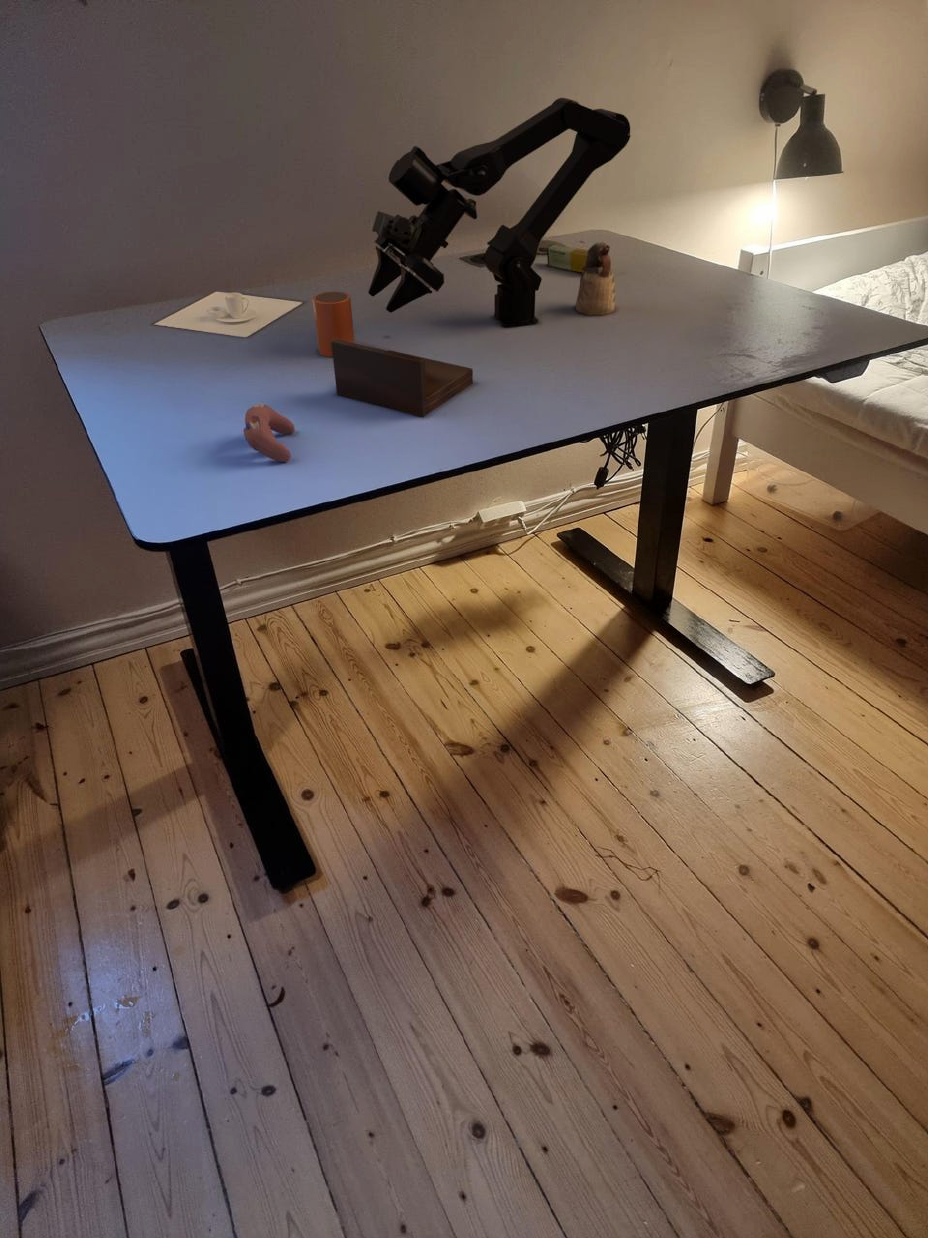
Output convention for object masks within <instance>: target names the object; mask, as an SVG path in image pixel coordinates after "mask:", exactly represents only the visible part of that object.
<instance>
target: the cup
mask: <svg viewBox="0 0 928 1238" xmlns="http://www.w3.org/2000/svg"><path fill="white" fill-rule="evenodd" d="M312 305H313V315H314V323H315V330H316V331H315V332H316V338H317V339H316V340H317V347H318V353H319V354H320V355H321V356H323V357H327V358H333V354H332V344H331V341H333V340H335V339H338V340H342V341H347V342H351V343H356V341H355V333H354V331H355V330H354V321H353V312H352V311H353V310H352V301H351V295H350V293H347V292H344V291H325V292H320V293H316V294H315V295H314V296H313V297H312Z"/></svg>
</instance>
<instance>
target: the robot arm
mask: <svg viewBox="0 0 928 1238" xmlns="http://www.w3.org/2000/svg"><path fill="white" fill-rule="evenodd" d="M568 130H571V131H574V132H576V134H575V138H574V142H573V146H572V149H571V152H570V154H569V156H568V157H567V158H566V159H565V161H564V162H563V163H562V165H561V166H560V167H559V168H558V170H557V171H556V173H555V174H554V175H553V176H552V178H551V179H550V181H549V182H548V183H547V184H546V186H545V187H544V188H543V190H542V191H541V192H540V194H539V195H538V196H537V198H536V199H535V201H534V202H533V203H532V205H530V207H529V208H528V210H527V211H526V212H525V214H524V215H523V216H522V218H521V219H520V221H519V222H518V223H516V224H515V225H513V226H511V227H508V226H506V225H504V224H502V225H500V226H499V228H498V229H497V231H496V232H495V235H494V236H493V237H492V238H491V239H490V240H489V241H487V242H486V245H488V247H487V248H486V250H485V252H484V263H485V267H486V268H487V270H488V271H489V272H490V273H491V274H492V275H493V278H494V281H495V282H498V284H497V285H496V293H495V294H494V301H493V302H494V305H493V306H494V311H493V317H494V318H495V319H496V320H497V321H498V322H499V323H500V324H501V325H502V326H503V327H505V328H509V327H518V326H524V325H525V326H526V325H531V324H537V323H539V318H537V317H536V292H537V291H539V289H540V288H541V287H540V286H541V283H542V282H543V281H542V280H543V279H542V276H540V275H539V274H538V273H537V272H536V270H534V269H533V268H532V266H533V265H534V262H535V260H536V258H537V255H538V250H539V246H540V244H541V241H542V239H543V238H544V237H545V235H546V234H547V233H548V231H549V230H550V229H551V227H552V226H553V225H554V223H555V222H556V221H557V220H558V218H559V217H560V215H562V213H563V212H564V210H565V209H566V208H567V206H568V205H569V204H570V203H571V201H572V200H573V198H574V197H575V196H576V195H577V193H579V191H580V190H581V188H582V187H583V185H585V183H586V182H587V180H588V179H589V177H590V176H591V175H592V174H593V173H594V172H595V171H596V170H598V169H599V168H601V167H602V166H604V165H606V164H608V163H609V162H611V161H612V160H613V159H614V158H615V157H616V156H617V155H618V154H619V153H621V152H622V150H623V149H625V147H627V145H628V143H629V141H630V139H631V136H632V135H631V124H630V121H629V118H627V116H625V115H624V114H622V113H619V112H615V111H612V110H607V109H605V108H595V109H594V108H593V109H592V108H590V107H587V106H585V105H582V104H580V103H579V102H578V101H576V100H574V99H570V98H567V97H566V98H565V97H559V98H556V99H555V100H554V101H553V102H552V103H551V104H550V105H548V106H547V107H545V108H544V109H542V110H540V111H539V112H537V113H536V114H534V115H533V116H531V117H530V118H528V119H526V120H525V121H523V122H521V123H520V124H519V125H517V126H515V127H513V128H512V129H510V130H509V131H508V132H507V131H506V133H504V134H503V135H501V136H500V137H498V138H496V139H494V140H491V141H489V142H484V143H479V144H475V145H473V146H470V147H468V148H466V149H463V150H460V151H458V152H457V153H455V154H454V155H453V157H452V158H451V160H448V161H444V162H441V163H438V164H435V163H434V162H433V161H432V160H431V159H430V158H429V157H428V155H427V153H425V151H423V149H422V148H420V147H419V146H417V145H414V146H413V147H412V148H411V149H410V151H408V152H406V153H405V154H404V155H402V156H401V157H400V158H399V159H397V160H396V161H395V163H394V164H393V166H391V169H390V171H389V174H388V183H390V184H391V185H392V186H393V187H394V188H396V189H397V191H398V192H400V194H402V196H404V197H405V198H406V199H407V200H408V201H410V203H412V204H413V205H414V206H415V207H419V206H421V205H425V206H424V208H423V209H422V211H421V212H420V213H419V215H418V216H416V215H415V214H413V215H411V216H409V218H407V217H406V216H401V215H400V214H396V215H395V216H393V215H391V214H388V213H385V212H382V211H379V210H377V212H376V216H375V219H374V222H373V223H374V224H373V227H372V229H371V231H372V232H373V233H376V235H377V237H376V239H375V241H374V243H375V244H377V245H375V251H376V254H377V264H376V268H375V271H374V274H373V277H372V280H371V283H370V285H369V289H368V291H367V293H368V294H369V296H371V297H375V296H377V295H378V294H380V293H381V292H382V291H383V290H384V289H386V288H387V287H388V286H389V285H391V284H392V283H393V282H394V281H396V279H398V278H399V277H400V281H399V282H398V284H397V287H396V288H395V290H394V291H393V293H392V295H391V297H390V299H389V300H388V302H387V305H386V307H385V310H386V311H387V312H388V313H393V312H395V311H397V310H399V309H401V308H403V307H404V306H406V305H408V304H410V303H412V302H413V301H416V300H417V299H419V298H422V297H424V296H426V295H428V294H432V293H433V291H435V292H436V293H438V292H439V291H440V289H441V288H442V287H443V285H444V284H445V274H444V273H443V272H442V271H440V269H439V268H437V267H436V266H435V265H434V263H433V262H432V260H433V258H434V257H435V256H436V254H437V253H438V251H439V250H440V248H441V247H442V248H443V249H446V248H447V247H448V246H449V242H448V241H447V239H448V237H449V236H450V235H451V233H452V232H453V231H454V229H455V228H456V226H457V225H458V223H459V222H460V221H461V219H462V218H463V216H464V215H466V216H468V217H469V218H471V219H473V220H477V218H478V213H477V201H476V200H474V198H473V199H472V198H466V197H465V196H464V195H462V193H461V192H460V191H458V190H457V189H460V190H462V191H464V192H465V193H467V194H469V195H472V196H476V197H479V196H482V195H485V194H486V193H488V192H489V191H490V190H491V189H492V188H493V187H494V186H495V185H497V184H498V183H499V182H500V181H501V180H502V178H503V177H504V175H505V174H506V172H507V170H509V168H511V167H513V165H514V164H516V163H517V162H519V161H521V160H522V159H524V158H525V157H527V156H528V155H530V154H531V153H533V152H535V151H536V150H538V149H540V148H541V147H543V146H544V145H546V144H547V143H549V142H550V141H552V140H553V139H555V138H557V137H559V136H560V135H561V134H563V133H564V132H566V131H568ZM443 182H444V183H446V184H448V185H450V186H452V187H453V188H452V189H448V188H447V187H446V186H445V185H443ZM378 246H379V247H378ZM407 268H408V269H409V270H408V269H407ZM431 289H433V290H431Z"/></svg>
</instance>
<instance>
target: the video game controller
mask: <svg viewBox="0 0 928 1238" xmlns="http://www.w3.org/2000/svg"><path fill="white" fill-rule="evenodd" d="M245 412H246V413H245V417H244V423H245V424H244V425H245V427H244V428H243V435H244V438H245V440H246V442H247V443H248V445H249V446H250V447H251V449H253V450H254V451H256V452H259V453H260V454H262V455H263V456H264V457H267V458H268V459H270V460H273V461H275V462H280V463H287V462H289V461H290V460H291V455H292V454H291V451H290V450H289V449H288V447H286V446H285V445H284V444H282V443H280V442H279V441H277V440H276V438H275V435H274V432H275V433H277V434H281V435H292V434H293V433H294V432H295V430H296V429H295V424H294V423H293V422H292V421H291V420H290V419H289V418H288V417H286V416H285V415H283V414H281V413H278V412H277V411H275V410H274V409H273V408H272V407H270V406H269V405H267V404H264V402H261V403H260V404H254V406H252V407H249V408H248V409H247V410H246V411H245Z"/></svg>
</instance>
